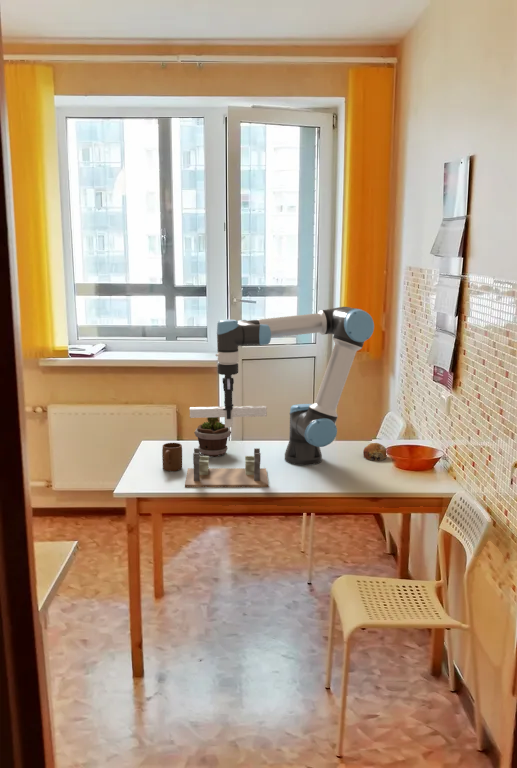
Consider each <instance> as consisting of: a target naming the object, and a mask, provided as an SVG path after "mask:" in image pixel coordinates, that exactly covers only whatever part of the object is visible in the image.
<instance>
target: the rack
mask: <svg viewBox="0 0 517 768" xmlns="http://www.w3.org/2000/svg"><path fill="white" fill-rule="evenodd" d="M253 451H254V452H253V455H245V456H244V457H245V458H244V468H240V467H239V468H236V467H235V468H234V467H233V468H229V467H228V468H225V467H224V468H223V467H222V468H220V467H219V468H218V467H217V468H215V467H214V468H211V467H210V463H209V462H210V457H209V456H203V455H201V453H200V448H198V447H197V448H196V447H194V449H193V453H192V460H193V461H192V462H193V463H192V464H193V467H191V468H187V471H186V476H185V481H184V488H269V486H270V485H269V479H268V473H267V468H265V467H264V468H261V454H262V453H261V452H260V451H261V450H260V448H259V447H258V448H257V447H256V448H254V449H253ZM209 467H210V468H209Z"/></svg>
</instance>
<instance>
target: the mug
mask: <svg viewBox="0 0 517 768" xmlns="http://www.w3.org/2000/svg"><path fill="white" fill-rule="evenodd" d="M161 448H162V452H161V453H162V454H161V455H162V469H163V470H164V471H166V472H177V471H180V470H181V469H183V445H182V444H181V443H179V442H167V443H164V444H162V447H161Z"/></svg>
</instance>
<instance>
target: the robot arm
mask: <svg viewBox="0 0 517 768" xmlns="http://www.w3.org/2000/svg"><path fill="white" fill-rule="evenodd" d="M216 325H217V326H216V340H217V343H216V345H217V347H216V348H217V353H215V356H216V357H217V374H218V375H222V376H223V375H224V377H222V385H223V386H222V387H223V393H224V395H223V396H224V401H223V402H224V406H223V407H225V409H223V410H225V417H224V424H225V427H228V428H233V417H232V409H233V407H232V406H234V404H233V392H234V383H235V380H234V377H232V376H233V375H234V376H235V375H237V374H239V363H238V362H239V347H243V346H245V347H247V346H248V347H249V346H264V345H265V346H267V345H269V344H270V343H271V340H272V338H280V337H290V336H298V335H299V336H301V335H308V334H317V333H318V334H320V335H333V336H332V340H333V341H334V346H333V348H332V351H331V354H330V358H329V360H328V362H327V366H326V369H325V372H324V375H323V376H322V380H321V382H320V385H319V389H318V392H317V395H316V398H315V400H314V402H313V403H298V404H292V405H291V406H290V410H289V440H288V444H287V447H286V449H285V451H284V460H285V462H287V463H289V464H292V465H298V466H311V465H317V464H320V463H321V462H322V461H323V455H322V451H321V448H323V447H326V446H329V445H330V444H332V443H333V442H334V440H335V439H336V437H337V434H338V428H337V425H336V422H337V419H338V416H339V415H338V412H337V407H338V404H339V402H340V399H341V396H342V393H343V390H344V388H345V385H346V382H347V379H348V377H349V374H350V371H351V368H352V366H353V363H354V359H355V357H356V355H357V352H359V351H360V350H361V349H363V346H364V343H365V342H366V341H367V340H369V339H370V338H371V337H372V335H373V333H374V330H375V323H374V319H373V317H372V316H371V314H369V313H368V312H367V311H365V310H363V309H361V308H354V307H349V306H340V307H333V308H328V309H321V310H319V311H318V312H317V313H308V314H307V313H306V314H298V315H290V316H289V315H288V316H281V317H279V316H278V317H271V318H270V317H269V318H260V319H252V320H251V319H250V320H246V319H239V320H237V319H220V320H218V321H217V324H216Z"/></svg>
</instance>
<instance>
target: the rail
mask: <svg viewBox="0 0 517 768" xmlns="http://www.w3.org/2000/svg"><path fill="white" fill-rule="evenodd" d="M232 407H233V409H232V418H245V417H246V418H249V417H251V418H252V417H267V415H268V414H267V413H268V411H267V409H268V407H267V405H242V406H239V405H238V406H236V405H235V406H234V405H233V406H232ZM223 409H225V406H215V407H214V406H195V407H194V406H190V407H189V418H190V419H193V418H194V419H196V418H197V419H199V418H201V419H204V418H205V419H208V418H209V417H219V418H225V410H223Z"/></svg>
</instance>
